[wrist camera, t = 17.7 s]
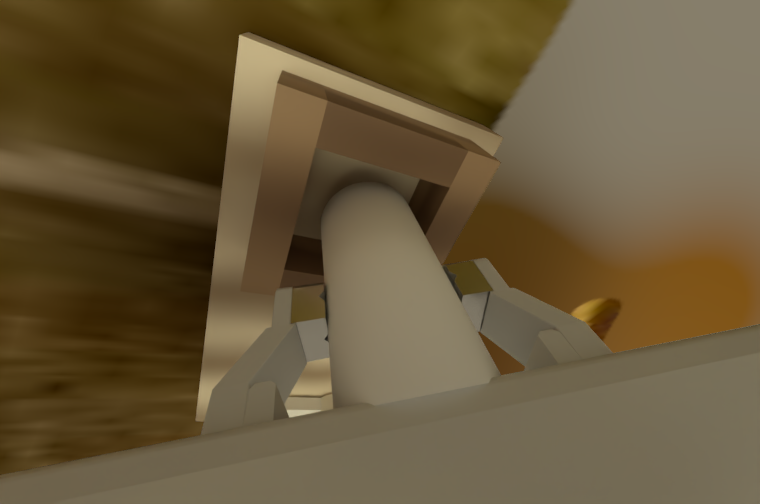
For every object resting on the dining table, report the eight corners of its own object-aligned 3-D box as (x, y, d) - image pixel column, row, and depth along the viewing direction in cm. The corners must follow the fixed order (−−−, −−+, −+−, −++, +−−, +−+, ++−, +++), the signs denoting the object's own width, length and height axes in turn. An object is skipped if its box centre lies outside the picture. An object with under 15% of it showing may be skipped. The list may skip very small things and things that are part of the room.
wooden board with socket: (343, 395, 31) (350, 457, 26) (203, 392, 26) (183, 465, 22) (482, 124, 18) (539, 159, 13) (248, 32, 13) (222, 39, 9)
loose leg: (371, 272, 16) (424, 482, 9) (302, 233, 14) (297, 464, 7) (428, 215, 14) (547, 407, 7) (360, 162, 12) (433, 356, 5)
